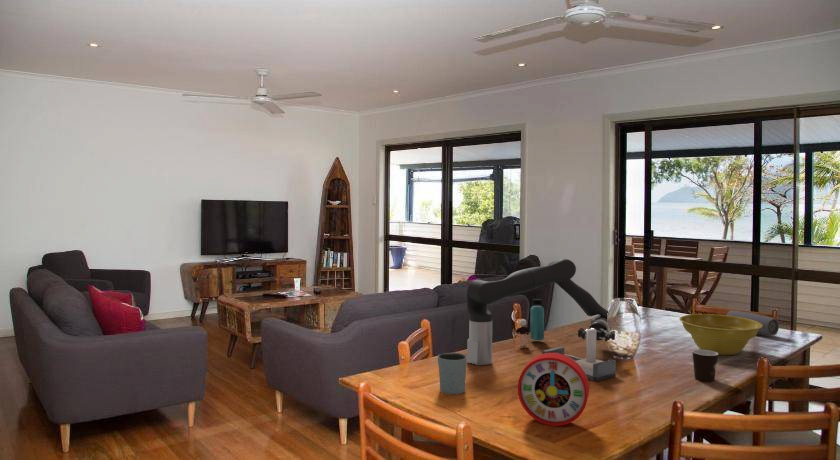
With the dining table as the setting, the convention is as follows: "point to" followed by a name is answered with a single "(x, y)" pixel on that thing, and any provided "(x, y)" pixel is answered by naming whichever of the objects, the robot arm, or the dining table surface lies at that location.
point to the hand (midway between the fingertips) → (594, 337)
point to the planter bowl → (720, 332)
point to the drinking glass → (452, 372)
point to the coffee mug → (704, 365)
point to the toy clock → (553, 389)
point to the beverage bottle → (537, 321)
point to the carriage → (590, 351)
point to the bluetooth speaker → (768, 323)
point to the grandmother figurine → (523, 334)
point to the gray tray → (599, 369)
